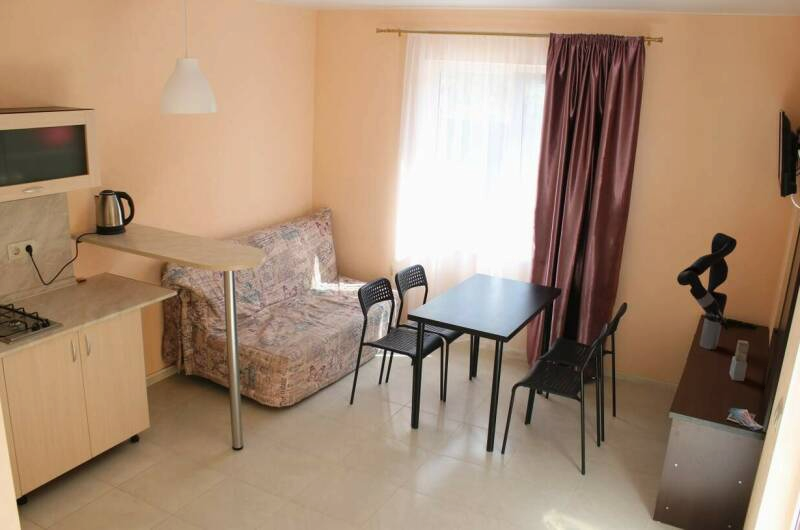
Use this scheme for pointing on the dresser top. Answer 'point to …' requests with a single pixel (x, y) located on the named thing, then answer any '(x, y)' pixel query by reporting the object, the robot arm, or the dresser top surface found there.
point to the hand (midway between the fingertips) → (726, 325)
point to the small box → (738, 370)
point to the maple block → (741, 351)
